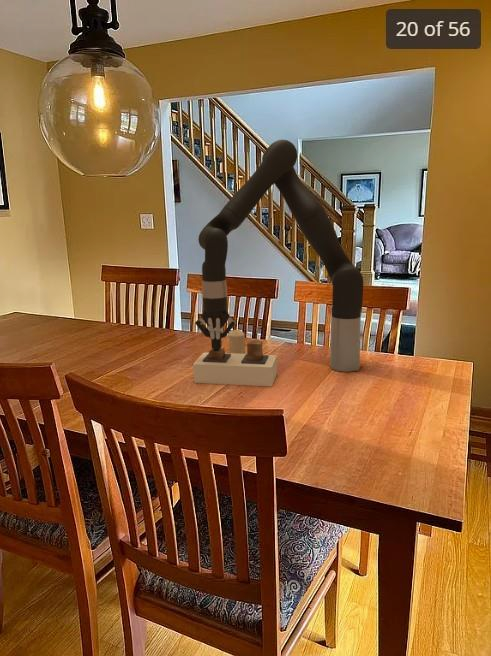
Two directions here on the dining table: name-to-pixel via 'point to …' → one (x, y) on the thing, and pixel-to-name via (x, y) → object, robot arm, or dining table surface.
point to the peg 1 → (217, 354)
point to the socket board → (235, 370)
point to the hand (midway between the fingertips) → (216, 349)
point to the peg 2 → (254, 350)
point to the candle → (237, 342)
